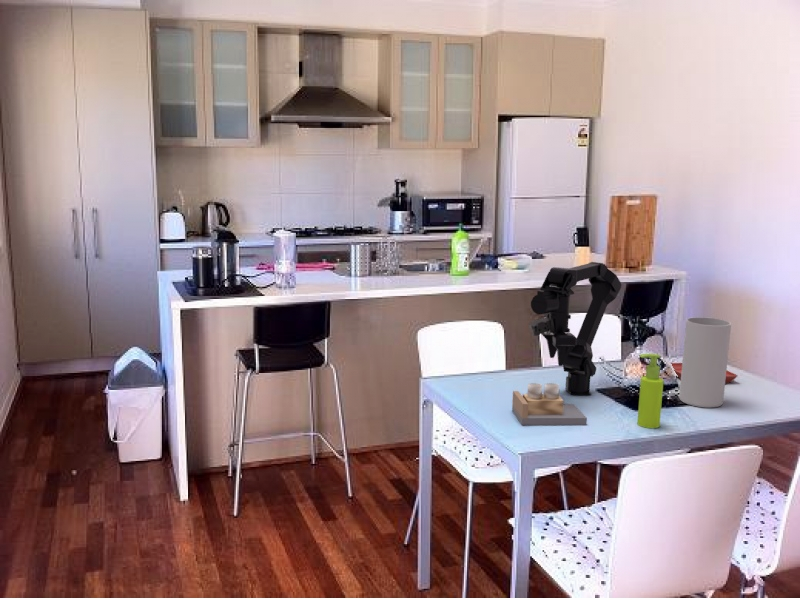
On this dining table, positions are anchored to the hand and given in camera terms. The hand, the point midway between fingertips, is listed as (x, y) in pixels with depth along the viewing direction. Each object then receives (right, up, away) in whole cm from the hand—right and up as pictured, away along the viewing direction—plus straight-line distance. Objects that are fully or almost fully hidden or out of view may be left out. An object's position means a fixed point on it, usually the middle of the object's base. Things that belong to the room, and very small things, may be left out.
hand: (556, 361), depth 232 cm
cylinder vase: (+45, -13, +4) cm, 47 cm away
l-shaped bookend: (-5, -15, -14) cm, 21 cm away
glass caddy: (-7, -13, -15) cm, 20 cm away
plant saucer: (+55, -8, +31) cm, 64 cm away
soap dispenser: (+21, -16, -18) cm, 32 cm away
